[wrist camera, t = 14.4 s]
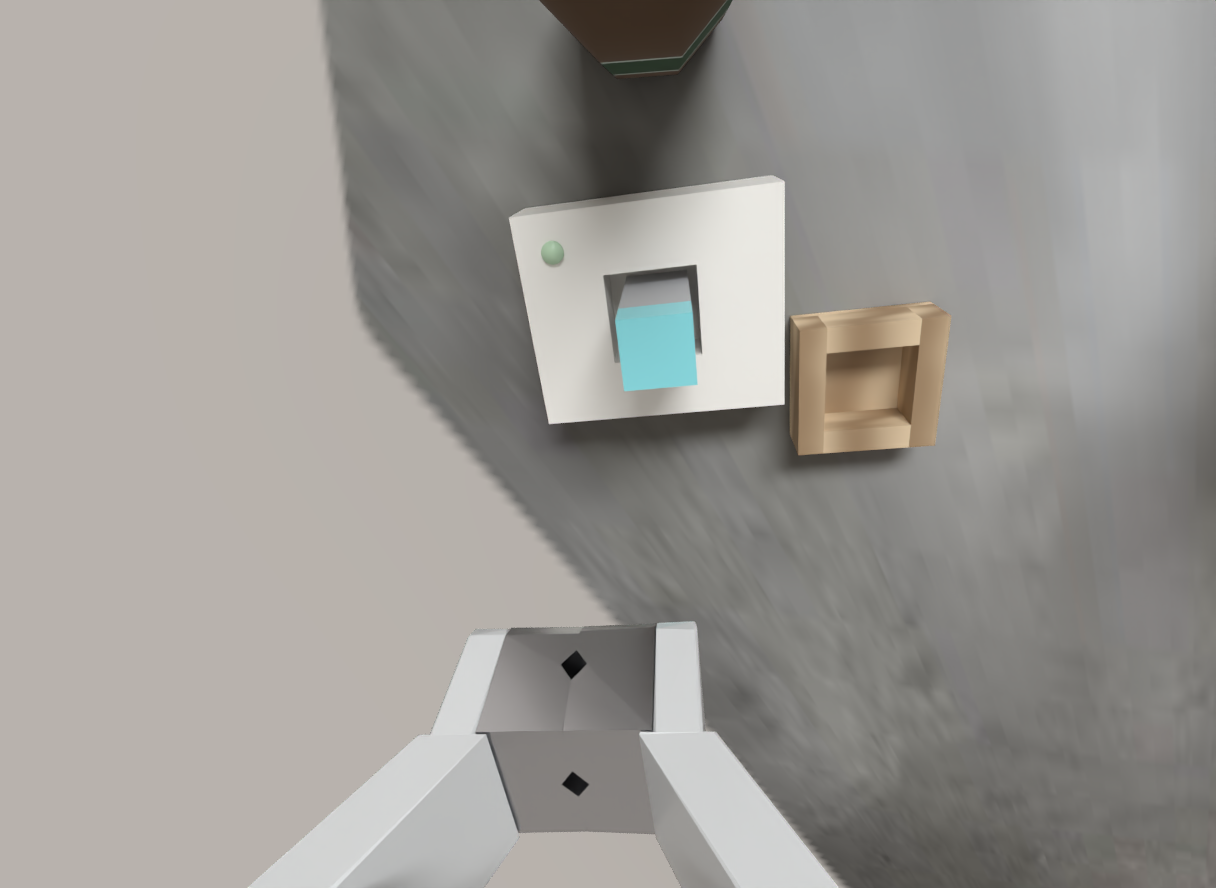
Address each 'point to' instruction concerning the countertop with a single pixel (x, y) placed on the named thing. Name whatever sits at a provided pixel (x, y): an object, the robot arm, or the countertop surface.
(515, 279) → the countertop surface
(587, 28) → the beer bottle
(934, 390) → the square wooden tray
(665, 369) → the plug
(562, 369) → the port
